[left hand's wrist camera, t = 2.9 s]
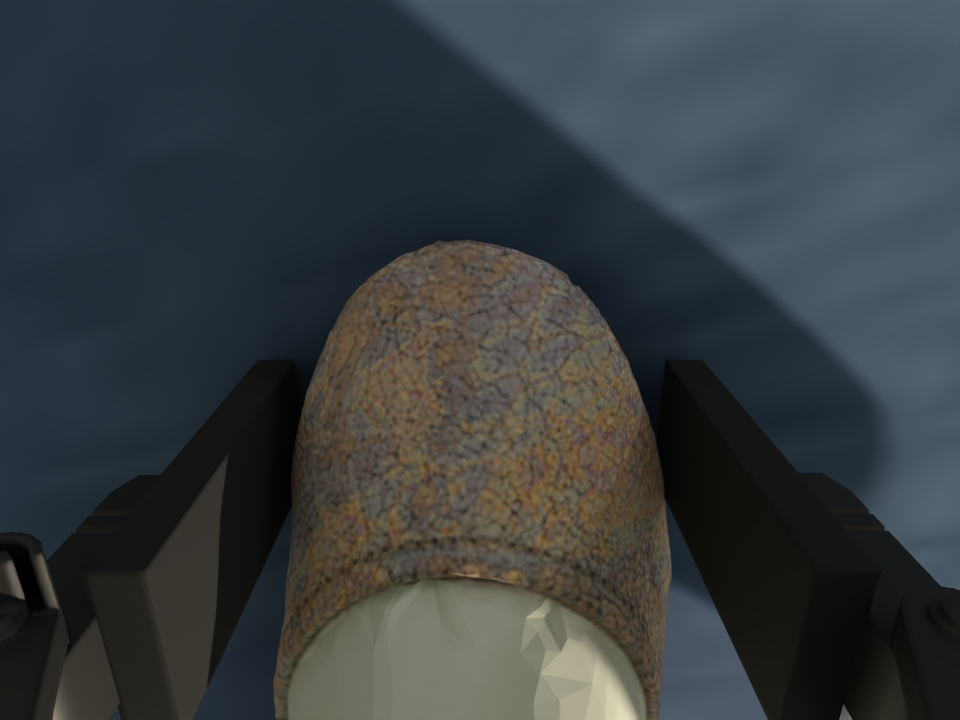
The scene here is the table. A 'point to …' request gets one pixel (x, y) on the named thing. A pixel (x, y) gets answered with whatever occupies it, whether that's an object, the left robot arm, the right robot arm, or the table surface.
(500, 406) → the ballet flat
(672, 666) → the table surface
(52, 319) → the table surface
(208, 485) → the left robot arm
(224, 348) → the table surface
